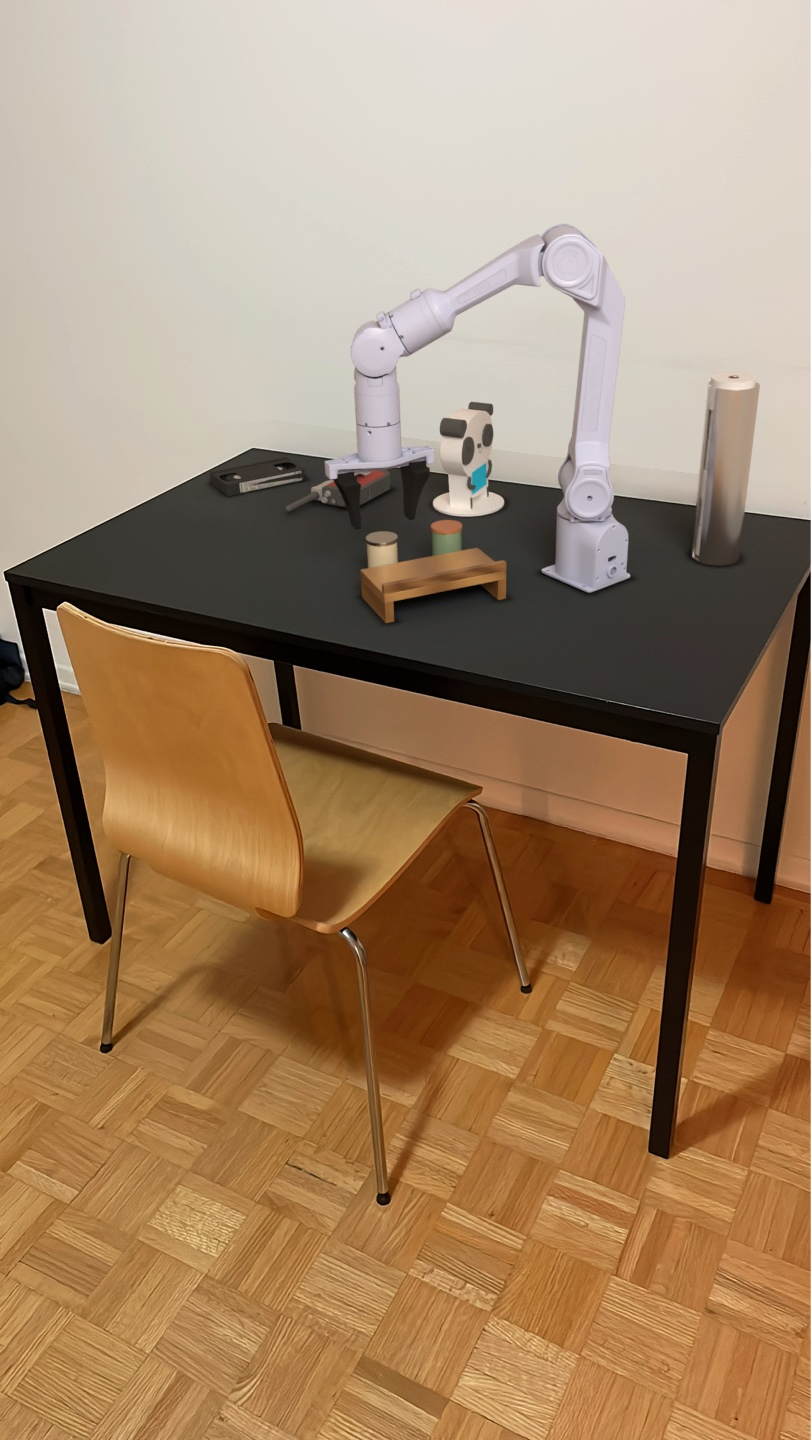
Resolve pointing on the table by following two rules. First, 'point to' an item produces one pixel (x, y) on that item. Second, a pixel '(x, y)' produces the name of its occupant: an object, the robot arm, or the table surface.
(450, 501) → the panda figurine
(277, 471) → the vhs tape
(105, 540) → the table surface
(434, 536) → the sage tin
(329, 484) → the walkie-talkie
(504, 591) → the shelf
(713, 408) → the silver metal cylinder
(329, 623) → the table surface
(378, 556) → the cream tin
